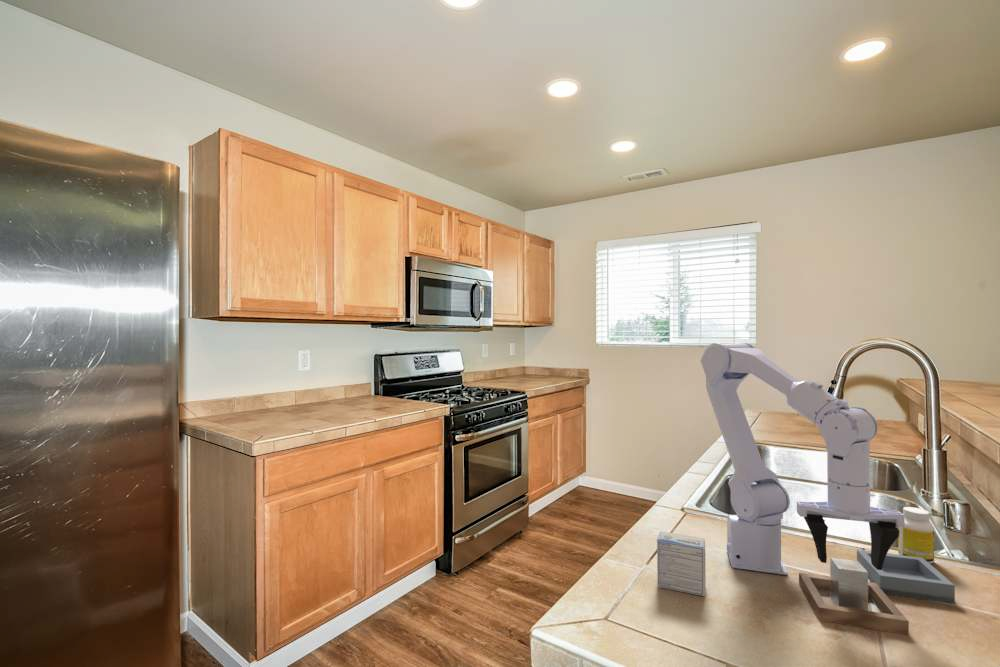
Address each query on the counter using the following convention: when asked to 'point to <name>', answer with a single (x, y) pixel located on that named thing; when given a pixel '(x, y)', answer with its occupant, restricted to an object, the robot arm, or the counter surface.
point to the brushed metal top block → (848, 584)
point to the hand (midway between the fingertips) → (848, 563)
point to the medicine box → (681, 563)
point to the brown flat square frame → (884, 621)
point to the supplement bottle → (916, 535)
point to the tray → (908, 577)
